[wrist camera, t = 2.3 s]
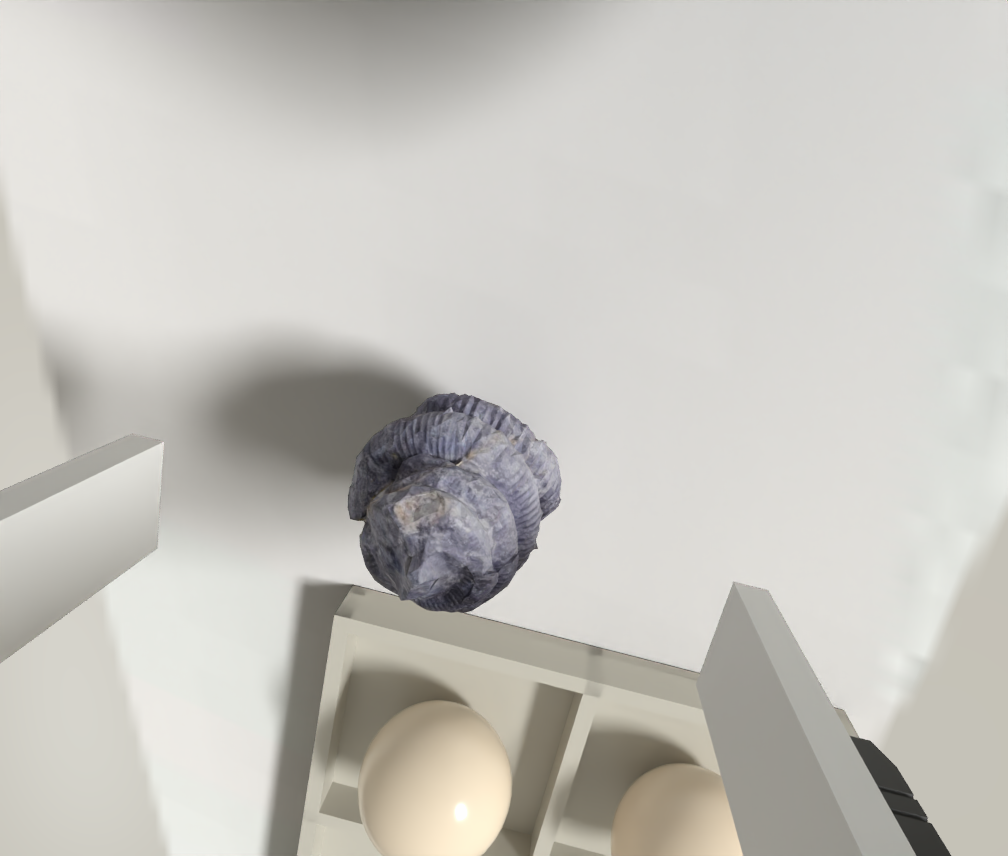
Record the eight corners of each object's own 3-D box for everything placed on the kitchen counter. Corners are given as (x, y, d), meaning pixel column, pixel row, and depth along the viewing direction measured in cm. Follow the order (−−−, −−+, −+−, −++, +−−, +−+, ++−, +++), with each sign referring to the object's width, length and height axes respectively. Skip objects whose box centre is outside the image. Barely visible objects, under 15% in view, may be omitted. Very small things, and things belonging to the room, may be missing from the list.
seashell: (407, 494, 23) (288, 676, 14) (423, 349, 22) (300, 440, 12) (554, 521, 23) (535, 726, 13) (581, 375, 21) (582, 491, 12)
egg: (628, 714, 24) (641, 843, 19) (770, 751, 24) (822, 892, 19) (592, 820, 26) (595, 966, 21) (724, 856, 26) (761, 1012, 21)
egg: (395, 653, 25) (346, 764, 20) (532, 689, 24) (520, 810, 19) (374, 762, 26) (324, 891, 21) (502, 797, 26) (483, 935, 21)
